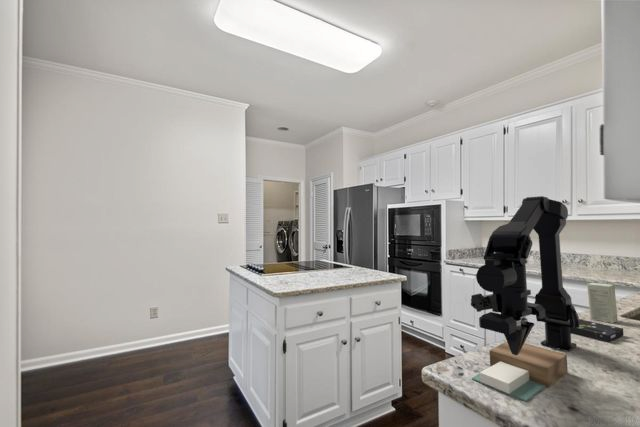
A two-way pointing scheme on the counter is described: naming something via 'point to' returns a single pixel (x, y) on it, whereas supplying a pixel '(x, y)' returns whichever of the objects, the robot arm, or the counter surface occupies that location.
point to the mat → (520, 389)
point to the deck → (533, 362)
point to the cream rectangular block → (504, 376)
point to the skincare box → (602, 302)
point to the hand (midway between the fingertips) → (515, 354)
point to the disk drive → (597, 331)
